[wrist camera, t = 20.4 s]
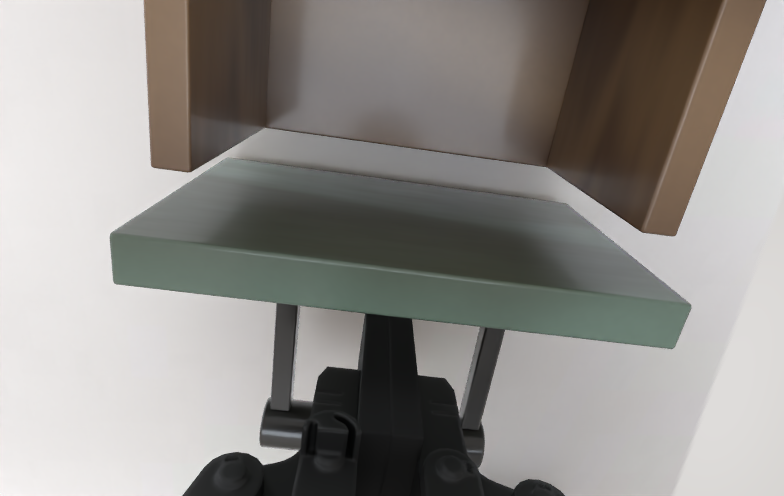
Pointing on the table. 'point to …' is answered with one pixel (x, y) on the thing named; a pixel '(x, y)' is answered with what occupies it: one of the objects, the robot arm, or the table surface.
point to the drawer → (440, 134)
